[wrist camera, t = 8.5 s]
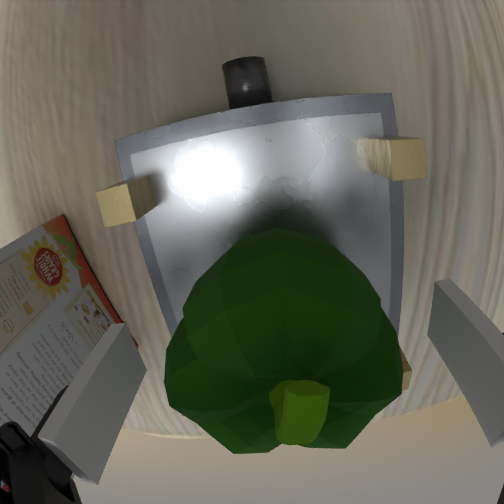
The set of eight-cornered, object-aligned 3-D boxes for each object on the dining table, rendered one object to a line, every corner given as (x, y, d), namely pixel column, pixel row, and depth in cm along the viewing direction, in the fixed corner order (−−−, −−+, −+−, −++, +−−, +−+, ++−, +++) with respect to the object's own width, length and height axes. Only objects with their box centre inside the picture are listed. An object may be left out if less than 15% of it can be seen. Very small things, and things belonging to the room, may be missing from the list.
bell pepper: (310, 366, 18) (328, 518, 8) (181, 316, 17) (118, 472, 7) (390, 250, 15) (501, 389, 5) (243, 176, 14) (190, 271, 4)
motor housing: (147, 97, 18) (71, 81, 10) (350, 61, 17) (404, 18, 8) (210, 350, 26) (190, 435, 17) (371, 329, 24) (405, 410, 16)
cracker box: (27, 236, 23) (-138, 363, 3) (65, 211, 22) (-142, 358, 2) (97, 356, 27) (4, 521, 8) (141, 348, 26) (49, 549, 7)
